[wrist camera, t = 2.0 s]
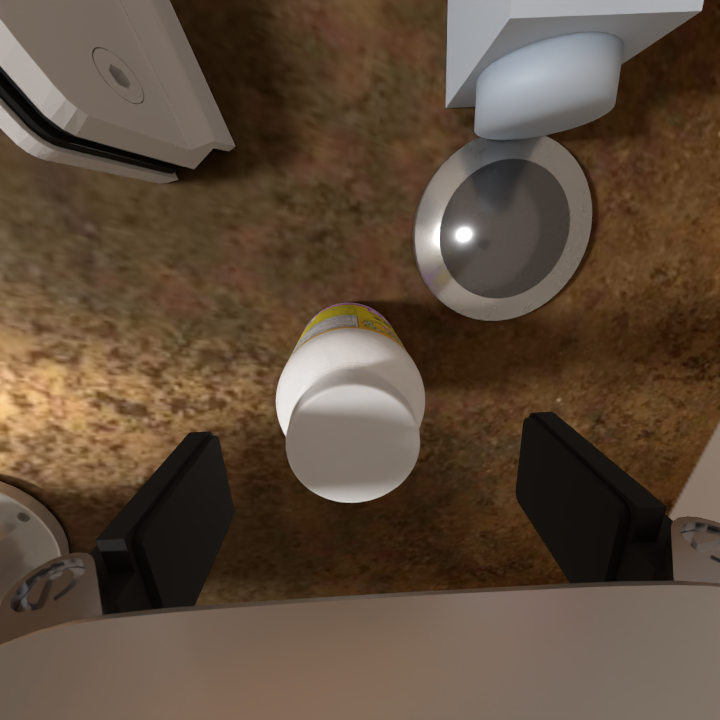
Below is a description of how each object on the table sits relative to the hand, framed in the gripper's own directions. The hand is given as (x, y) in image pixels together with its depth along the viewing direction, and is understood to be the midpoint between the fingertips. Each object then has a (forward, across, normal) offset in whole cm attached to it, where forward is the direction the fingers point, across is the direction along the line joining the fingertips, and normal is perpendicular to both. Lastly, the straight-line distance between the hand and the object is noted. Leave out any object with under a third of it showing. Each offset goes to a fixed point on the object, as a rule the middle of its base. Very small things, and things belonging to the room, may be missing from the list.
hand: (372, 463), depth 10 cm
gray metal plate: (+14, -9, -7) cm, 18 cm away
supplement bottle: (+14, +1, 0) cm, 14 cm away
